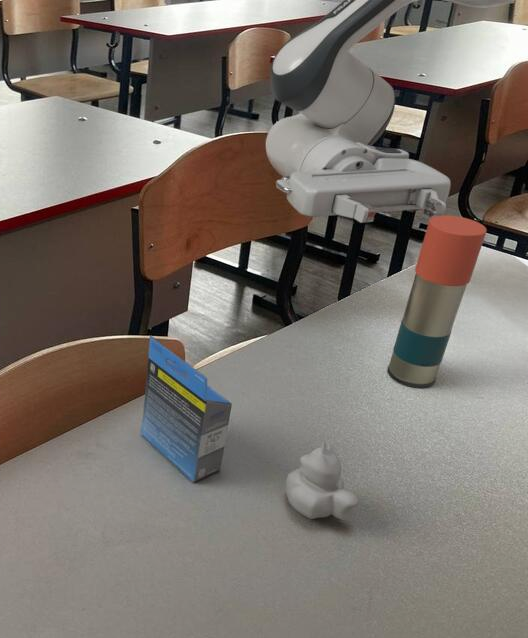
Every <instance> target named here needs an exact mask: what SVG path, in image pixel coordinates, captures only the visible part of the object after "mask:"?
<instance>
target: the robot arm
mask: <svg viewBox="0 0 528 638" xmlns="http://www.w3.org/2000/svg"><path fill="white" fill-rule="evenodd" d="M418 1H420V0H342V1H341V2H340V3H339V4H338V5H336V6H335V7H334V8H333V9H332V10H330V11H329V12H328V13H327V14H325V15H324V16H323V17H322V18H321V19H319V20H318V21H317V22H315V23H313V24H312V25H310V26H309V27H307V28H306V29H304V30H302V31H300V32H298V33H297V34H296V35H294V36H293V37H291V38H290V39H288V40H287V41H286V42H285V43H284V44H283V45H281V47H280V48H279V49H278V51H277V53H276V54H275V55H274V57H273V59H272V61H271V63H270V64H271V65H270V70H269V71H270V72H269V81H270V89H271V93H272V96H273V98H274V99H275V101H277V102H279V103H281V104H282V105H284V106H286V107H288V108H290V109H291V110H294V111H295V112H298V113H297V114H295V115H291V116H286V117H284V118H280V119H279V120H278V121H277V122H275V123H274V124H273V125H272V126H271V128H270V129H269V131H268V133H267V135H266V139H265V152H266V156H267V159H268V161H269V164H270V165H271V166H272V167H273V169H274V170H275V171H276V172H277V173H278V174H279V175H280V176H281V179H277V180H276V181H275V186H276V188H277V189H278V190H280V191H281V192H283V193H286V201H288V203H289V204H290V205H291V206H292V207H293V208H294V209H295V210H296V211H297V212H298V213H299V214H301V215H303V216H306V217H310V218H317V217H331V216H341V217H345V218H349V219H354V220H356V221H357V222H358V223H360V224H362V223H363V224H364V223H373V222H374V220H375V215H376V214H377V213H384V212H397V211H398V212H399V211H411V210H413V211H414V210H423V212H422V213H423V214H424V215H426V216H428V217H429V218H432V217H435V216H441V215H445V212H446V210H447V203H446V202H447V200H448V198H449V194H450V190H451V184H452V183H451V179H450V178H449V177H448V176H447V175H445V174H444V173H442V172H440V171H439V170H438V169H435V168H433V167H432V166H429V165H428V164H426V163H424V162H421V161H419V160H415V159H412V158H410V153H409V152H408V151H406V150H404V149H401V148H392V147H381V146H373V145H374V144H375V143H376V142H377V141H378V140H379V138H380V137H381V136H382V135H383V133H384V132H385V130H386V129H387V128H388V126H389V124H390V123H391V120H392V117H393V115H394V111H395V108H396V92H395V89H394V87H393V86H392V85H391V83H389V82H387V80H385V79H384V78H383V77H382V76H380V75H379V74H378V73H377V72H375V71H374V69H371V68H370V67H368V66H367V65H366V64H364V63H363V62H362V61H361V60H359V59H358V58H357V57H356V56H355V55H354V54H352V53H351V52H350V50H351V48H353V47H354V46H355V45H356V44H357V43H359V42H360V41H361V40H363V39H364V38H365V37H367V35H369V34H370V33H371V32H373V31H374V30H375V29H376V28H378V27H379V26H380V25H381V24H382V23H384V22H385V21H386V20H388V19H389V18H390V17H392V16H393V15H394V14H396V13H397V12H398V11H399V10H400V9H402V8H403V7H405V6H407V5H409V4H412V3H415V2H418ZM442 1H443V2H447V3H453V4H457V5H460V6H464V7H468V8H476V9H489V8H497V7H498V8H499V7H502V6H506V5H510V4H512V3H513V2H515V1H516V0H442Z"/></svg>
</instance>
